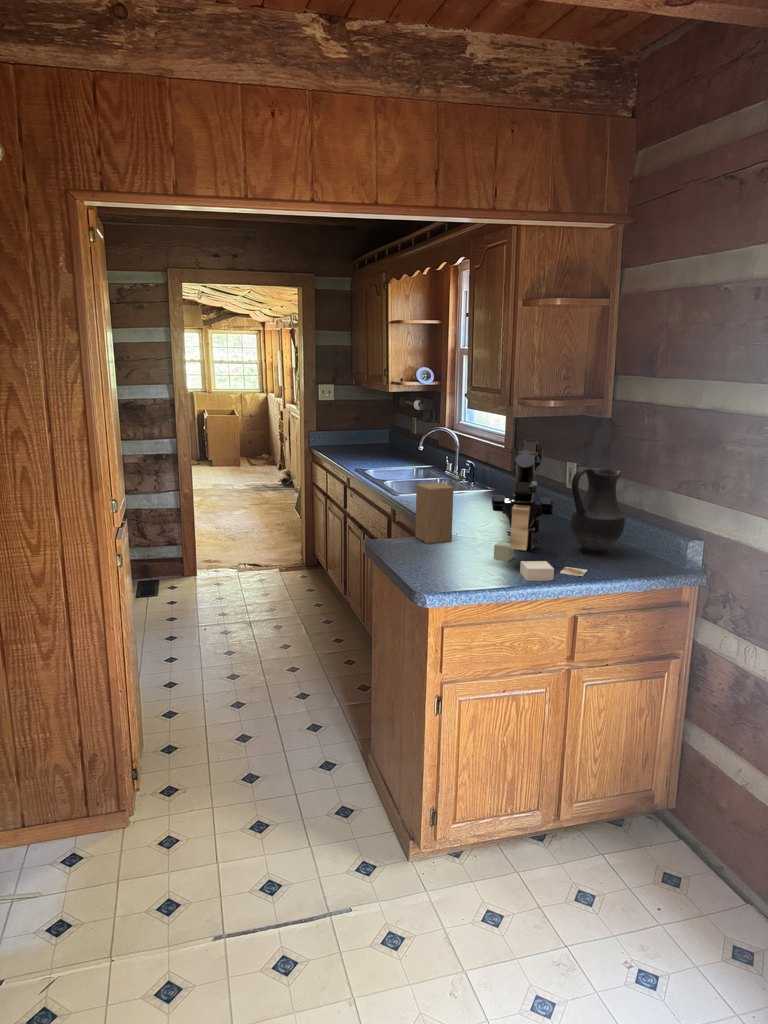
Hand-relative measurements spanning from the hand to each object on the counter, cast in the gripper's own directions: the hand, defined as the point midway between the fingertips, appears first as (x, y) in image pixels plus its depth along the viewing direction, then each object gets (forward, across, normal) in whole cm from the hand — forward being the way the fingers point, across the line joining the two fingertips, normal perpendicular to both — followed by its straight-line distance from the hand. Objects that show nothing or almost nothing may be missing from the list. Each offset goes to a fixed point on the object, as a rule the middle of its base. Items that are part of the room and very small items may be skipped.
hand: (519, 527), depth 221 cm
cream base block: (+14, +6, +6) cm, 16 cm away
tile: (+8, +17, +11) cm, 22 cm away
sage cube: (+2, -6, +18) cm, 19 cm away
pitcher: (-9, +22, +29) cm, 38 cm away
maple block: (+4, 0, +6) cm, 7 cm away
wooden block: (-10, -32, +30) cm, 46 cm away
